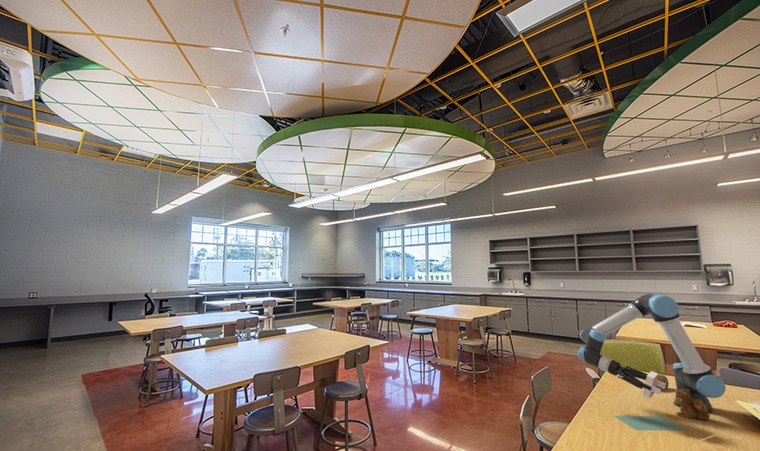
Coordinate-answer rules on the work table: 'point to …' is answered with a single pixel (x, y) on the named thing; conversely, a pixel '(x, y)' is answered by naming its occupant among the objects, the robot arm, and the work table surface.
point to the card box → (652, 381)
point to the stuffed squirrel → (690, 406)
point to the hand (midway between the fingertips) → (662, 389)
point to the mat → (649, 423)
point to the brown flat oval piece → (664, 380)
